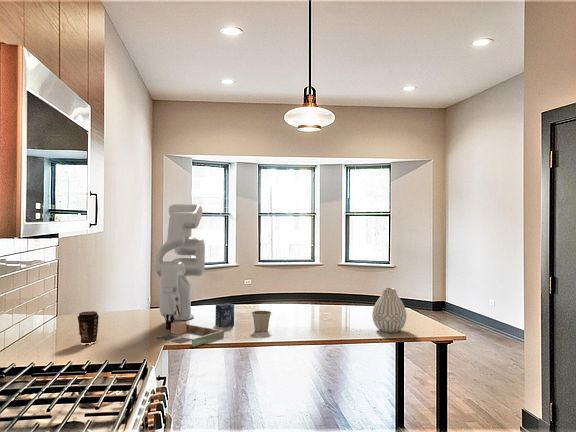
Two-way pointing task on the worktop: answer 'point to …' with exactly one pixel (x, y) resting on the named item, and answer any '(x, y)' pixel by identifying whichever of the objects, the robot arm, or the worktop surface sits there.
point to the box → (224, 315)
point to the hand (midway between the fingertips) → (169, 329)
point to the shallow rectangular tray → (208, 332)
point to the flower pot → (261, 320)
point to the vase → (389, 312)
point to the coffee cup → (88, 326)
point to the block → (179, 327)
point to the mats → (175, 339)
